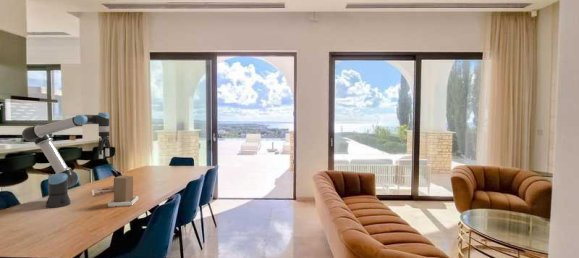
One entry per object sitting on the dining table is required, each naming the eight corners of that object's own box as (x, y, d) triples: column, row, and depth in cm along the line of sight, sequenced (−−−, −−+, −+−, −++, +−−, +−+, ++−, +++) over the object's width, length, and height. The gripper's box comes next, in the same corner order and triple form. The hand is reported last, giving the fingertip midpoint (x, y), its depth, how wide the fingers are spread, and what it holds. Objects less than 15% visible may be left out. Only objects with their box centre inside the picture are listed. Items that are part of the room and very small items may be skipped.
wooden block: (133, 200, 247) (133, 175, 246) (125, 203, 237) (125, 178, 236) (121, 199, 247) (121, 175, 247) (113, 203, 238) (113, 177, 237)
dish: (107, 206, 232) (107, 202, 232) (115, 200, 249) (115, 196, 248) (132, 205, 236) (132, 202, 235) (138, 199, 252) (138, 196, 252)
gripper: (103, 132, 238) (103, 159, 239) (114, 130, 262) (114, 155, 263) (92, 132, 236) (92, 159, 237) (104, 130, 261) (105, 155, 262)
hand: (104, 157), depth 250 cm, fingers open, 13 cm apart
